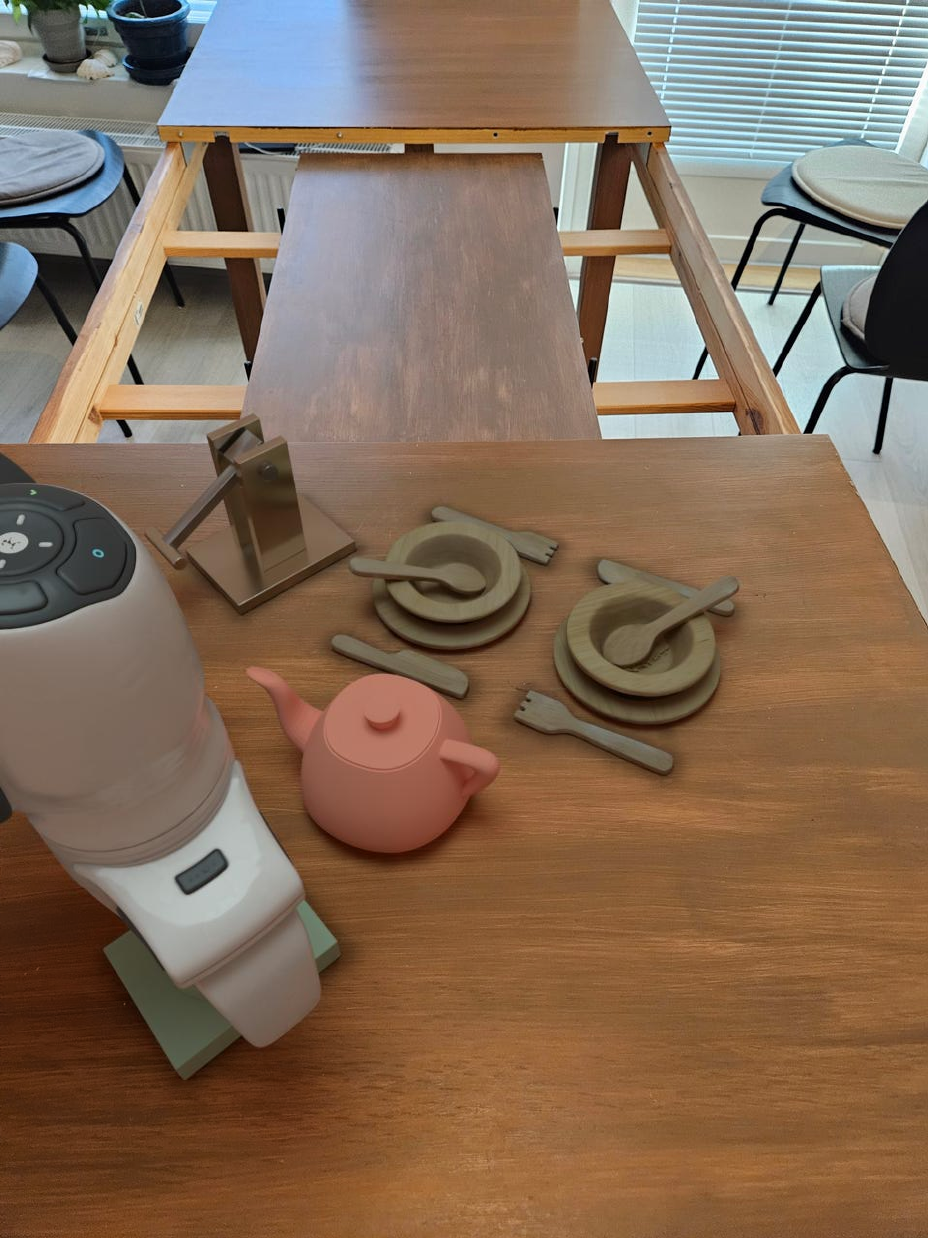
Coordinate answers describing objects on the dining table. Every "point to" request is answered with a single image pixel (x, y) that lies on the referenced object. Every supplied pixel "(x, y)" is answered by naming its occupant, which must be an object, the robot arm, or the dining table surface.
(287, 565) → the metal lever stand
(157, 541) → the lever
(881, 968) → the dining table surface
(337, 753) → the teapot
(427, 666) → the tableware set
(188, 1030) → the button box
